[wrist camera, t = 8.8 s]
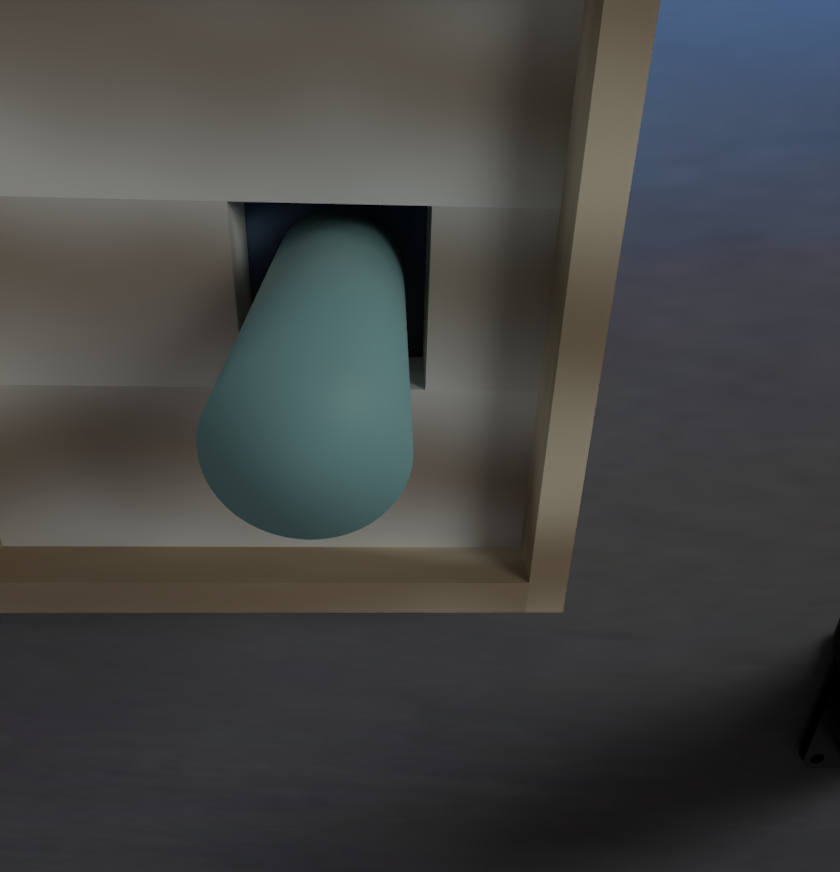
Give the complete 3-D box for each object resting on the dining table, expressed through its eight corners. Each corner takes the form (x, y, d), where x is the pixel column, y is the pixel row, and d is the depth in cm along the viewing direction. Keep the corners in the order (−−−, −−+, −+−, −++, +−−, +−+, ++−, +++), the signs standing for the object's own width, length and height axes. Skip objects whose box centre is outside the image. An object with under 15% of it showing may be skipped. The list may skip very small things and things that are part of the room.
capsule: (402, 332, 20) (410, 539, 12) (280, 330, 20) (208, 539, 12) (404, 208, 18) (416, 354, 11) (271, 205, 18) (184, 351, 10)
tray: (540, 533, 23) (562, 612, 20) (5, 531, 23) (-54, 613, 20) (623, -102, 16) (680, -128, 13) (-187, -135, 15) (-336, -173, 12)
